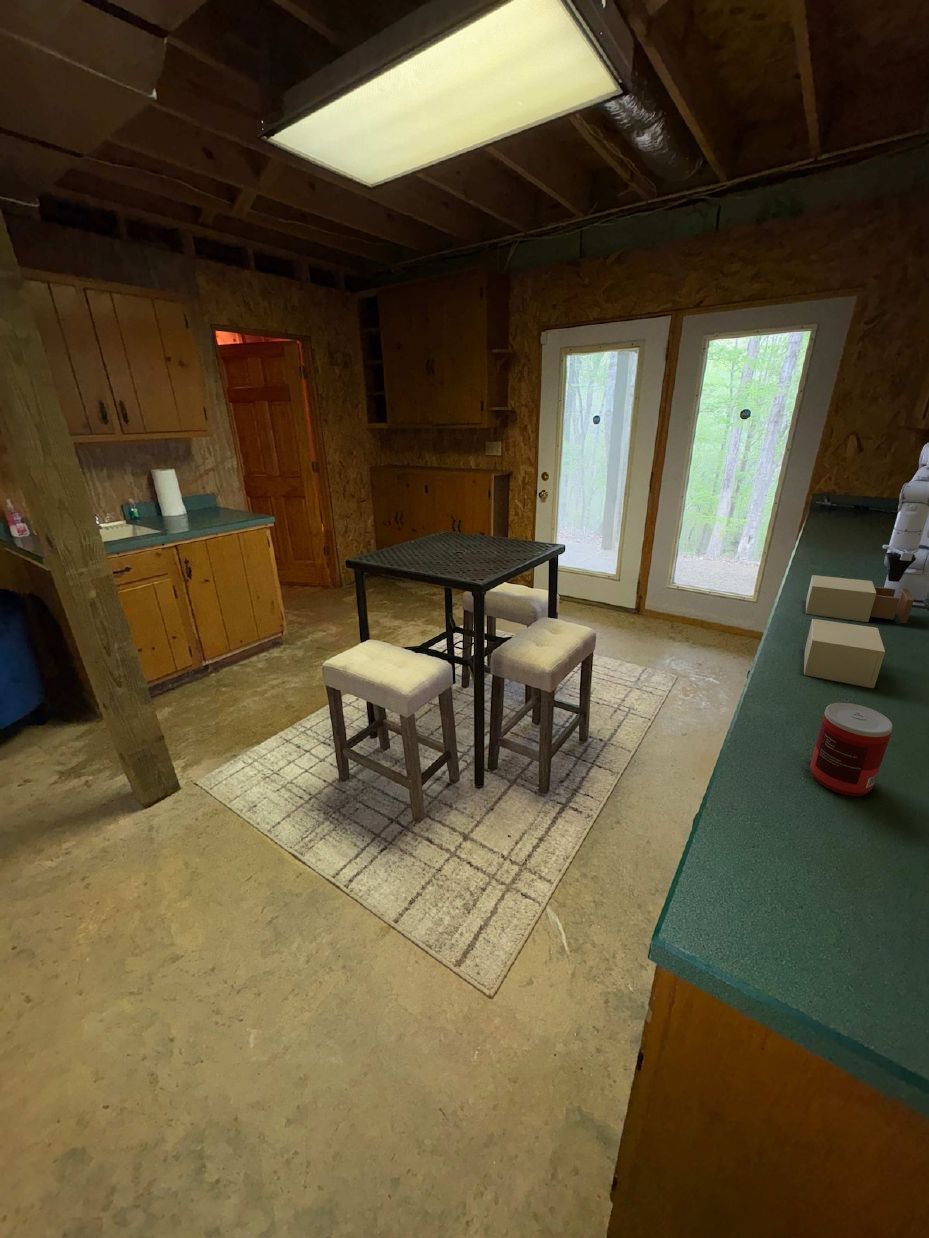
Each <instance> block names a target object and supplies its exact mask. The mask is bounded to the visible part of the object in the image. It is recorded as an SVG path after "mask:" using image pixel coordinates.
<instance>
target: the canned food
mask: <svg viewBox="0 0 929 1238" xmlns="http://www.w3.org/2000/svg"><path fill="white" fill-rule="evenodd" d="M892 733H893V723H892V721H891V720H890V719H889V718H888V717H887V716H885V715H884V714H883V713H881V712H879V711H877V710H875V709H872V708H870V707H867V706H864V705H860V704H855V703H851V702H850V703H849V702H835V703H831V704H828V705H827V706H826V707H825V710H824V713H823V717H822V720H821V723H820V727H819V731H818V735H817V739H816V743H815V747H814V750H813V753H812V757H811V761H810V765H809V767H810V773H811V775H812V777H813V779H814V780H815V781H816V782H817V783H818V784H820V785H821V786H823V787H824V788H826V789H828V790H830V791H832V792H834V793H838V794H839V795H843V796H849V797H860V796H861V797H862V796H865V795H867V794H868V793H869V792H870V791H871V790H872V789H873V788H874V786H875V782H876V780H877V777H878V773H879V771H880V768H881V765H882V762H883V759H884V756H885V753H886V750H887V747H888V745H889V742H890V739H891V735H892Z"/></svg>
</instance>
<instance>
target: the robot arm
mask: <svg viewBox="0 0 929 1238" xmlns="http://www.w3.org/2000/svg"><path fill="white" fill-rule="evenodd" d="M898 501H899V502H898V506H897V512H898V513H897V516H896V519H895V523H894V527H893V530H892V532H891V537H890V540H889V544H883V545H882V549H884V550H886V551H887V552H886V553H885V557H884V562H883V565H884V566H885V567H886V568H887V575H886V580H885V582H884V585H883V588H893V589H896V590H895V594H894V597H898V598H899V595H900V592H901V589H902V588H906V589H908V591H909V592H910V594H911V596H912V598H913V599H916V600H925V599H928V594H929V442H926V444H924V445H923V447H922V450H921V452H920V455H919V460H918V470H917V471H916V472H915V474H914V476H913V477H912V479H911V480H910V481H909V482H904V484H903V485H902V488H901V491H900V494H899V500H898ZM912 605H921V606H925V605H924V603H918V602H913V604H912Z"/></svg>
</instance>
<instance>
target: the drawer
mask: <svg viewBox="0 0 929 1238" xmlns="http://www.w3.org/2000/svg"><path fill="white" fill-rule="evenodd" d="M874 588H875V590H876V597H875V600H874V604H873V607H872V611H871V614H870V618H878V619H885V620H893V621H894V619H895V617H896V615H897V618H898V620H899V622H900V623H901V624H907V623H908V620H909V617H910V614H911V610H912V608H914V609H923V610H927V611H928V612H929V598H926V599H925V600H916V599H913V598H912V596H911V594H910V592H909V591H908V589H906V588H902V589H901V592H900V595H899V598H898V597H894V594H895V590H896V589H893V588H884V586H883V587H882V586H874ZM913 602H918V603H924V605H925V606H921V605H912V604H913Z"/></svg>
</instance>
